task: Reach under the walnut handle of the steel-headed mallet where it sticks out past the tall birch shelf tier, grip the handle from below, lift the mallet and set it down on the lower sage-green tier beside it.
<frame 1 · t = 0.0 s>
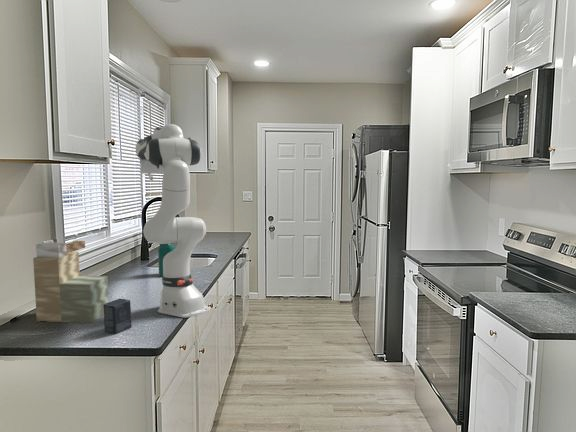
hand: (160, 179, 229), 54 cm above the countertop, tool tilted 30°, fingers open, 8 cm apart
mallet: (65, 252, 176), point 25 cm above the countertop, touching riser
box: (118, 330, 157), on the countertop
riser: (71, 316, 172), on the countertop
pitcher: (167, 275, 242), on the countertop
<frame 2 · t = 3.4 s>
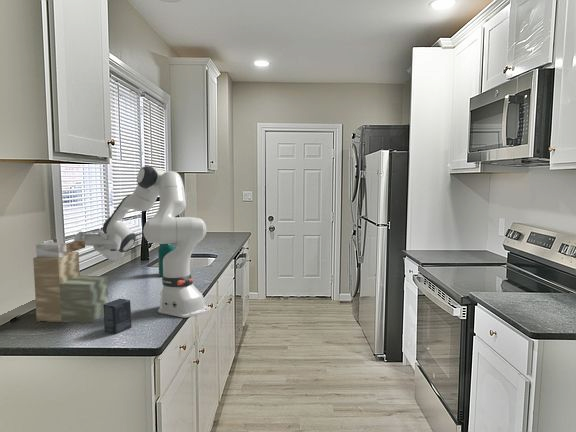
hand: (89, 233, 194), 30 cm above the countertop, tool pointing upward, fingers open, 8 cm apart
nothing on the countertop moved.
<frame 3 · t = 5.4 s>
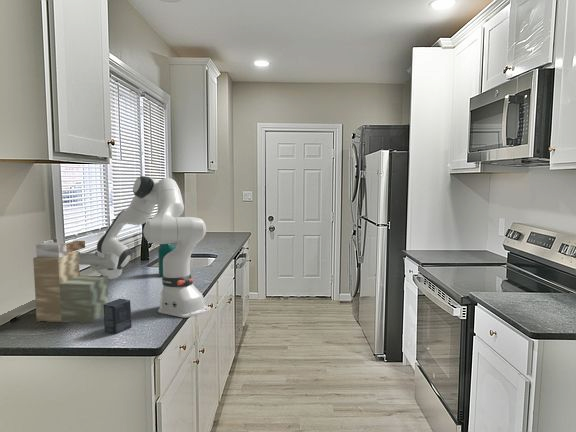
hand: (86, 252, 192), 22 cm above the countertop, tool pointing upward, fingers open, 8 cm apart
nothing on the countertop moved.
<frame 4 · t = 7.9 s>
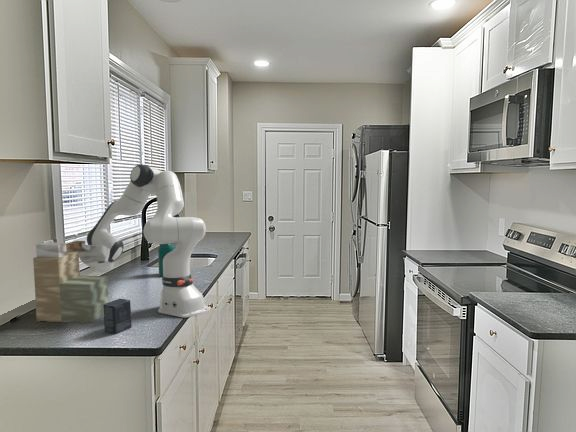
hand: (75, 244, 183), 27 cm above the countertop, tool pointing upward, fingers closed on mallet, 4 cm apart
mallet: (65, 252, 176), point 25 cm above the countertop, touching gripper, riser
everything else where it was.
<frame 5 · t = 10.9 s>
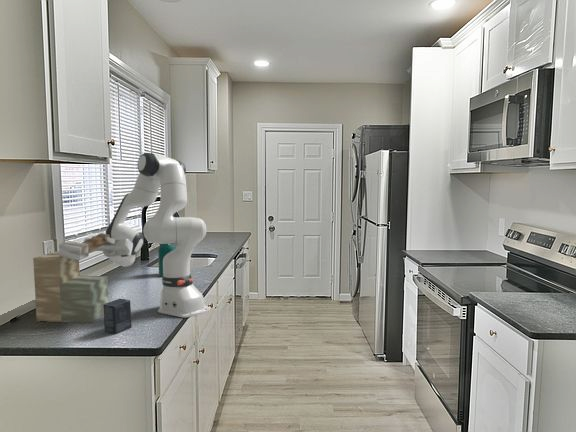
hand: (99, 238, 182), 30 cm above the countertop, tool pointing upward, fingers closed on mallet, 4 cm apart
mallet: (88, 248, 176), point 26 cm above the countertop, tilted 12°, touching gripper, riser
everything else where it was.
when the fingers open (19 cm above the countertop, at t = 14.0 s): mallet stays where it is, resting on riser.
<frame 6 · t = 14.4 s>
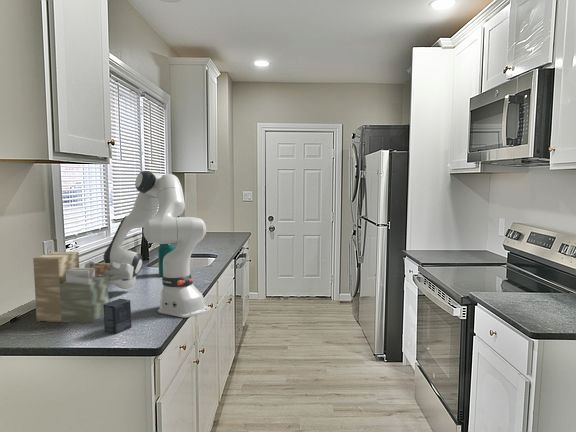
hand: (100, 263, 183), 19 cm above the countertop, tool pointing upward, fingers open, 8 cm apart
mallet: (92, 276, 176), point 15 cm above the countertop, touching riser
everything else where it was.
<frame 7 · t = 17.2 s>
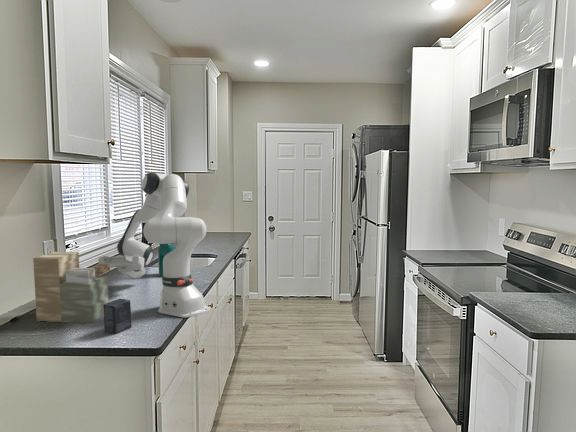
hand: (114, 257, 194), 19 cm above the countertop, tool pointing upward, fingers open, 8 cm apart
nothing on the countertop moved.
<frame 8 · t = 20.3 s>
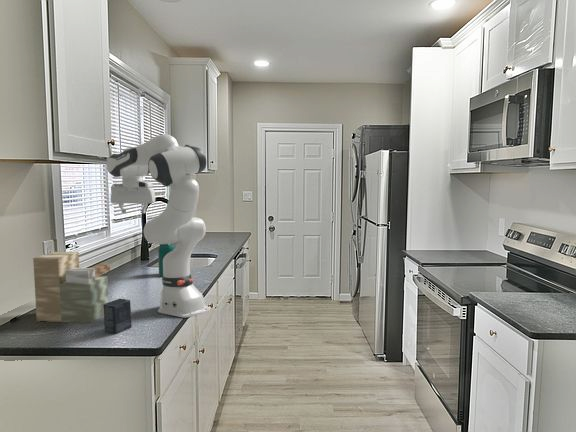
hand: (133, 213, 199), 39 cm above the countertop, tool pointing down, fingers open, 8 cm apart
nothing on the countertop moved.
at the end: mallet inside the target area on the riser (0.2 cm from its centre), point 15.0 cm above the riser's base; the gripper is holding nothing; mallet tilted 0° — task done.
